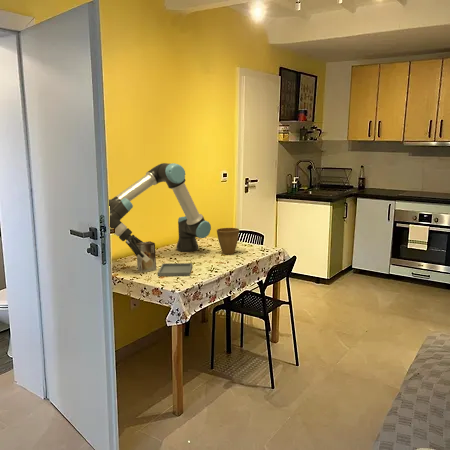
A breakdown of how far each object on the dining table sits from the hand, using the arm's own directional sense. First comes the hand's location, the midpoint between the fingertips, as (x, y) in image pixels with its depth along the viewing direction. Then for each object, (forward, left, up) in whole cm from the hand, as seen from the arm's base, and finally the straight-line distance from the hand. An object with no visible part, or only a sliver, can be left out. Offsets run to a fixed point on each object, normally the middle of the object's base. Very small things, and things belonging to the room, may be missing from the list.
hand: (150, 257), depth 260 cm
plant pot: (-39, +45, -7) cm, 60 cm away
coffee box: (0, -2, -7) cm, 8 cm away
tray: (+3, +15, -7) cm, 17 cm away
